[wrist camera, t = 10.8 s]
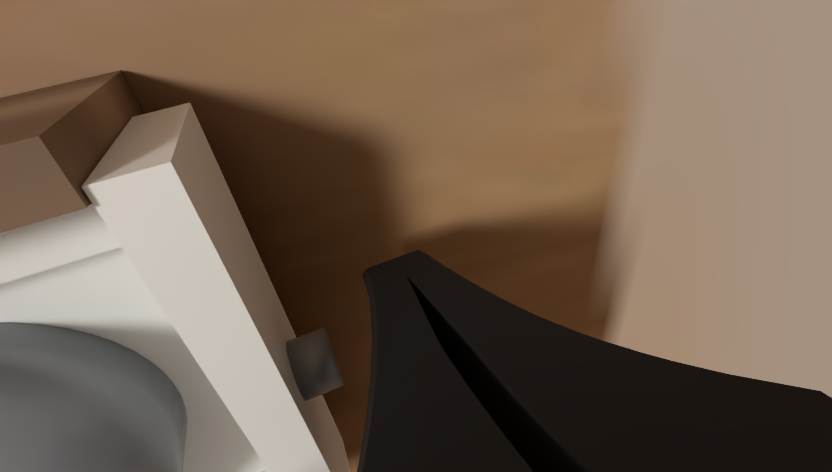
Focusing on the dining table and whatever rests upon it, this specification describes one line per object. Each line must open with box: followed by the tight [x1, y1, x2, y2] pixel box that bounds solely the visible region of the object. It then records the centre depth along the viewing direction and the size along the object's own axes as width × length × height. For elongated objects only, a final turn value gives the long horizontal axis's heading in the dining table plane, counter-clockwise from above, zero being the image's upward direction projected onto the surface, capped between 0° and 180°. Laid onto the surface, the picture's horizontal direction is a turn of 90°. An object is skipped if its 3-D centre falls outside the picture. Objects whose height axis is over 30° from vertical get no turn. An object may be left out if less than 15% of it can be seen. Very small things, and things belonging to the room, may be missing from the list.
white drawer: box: [0, 103, 351, 472], centre depth 8 cm, size 10×10×3 cm
